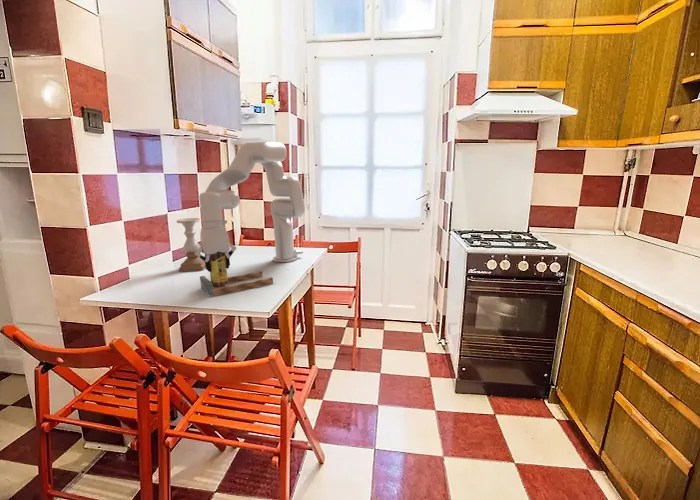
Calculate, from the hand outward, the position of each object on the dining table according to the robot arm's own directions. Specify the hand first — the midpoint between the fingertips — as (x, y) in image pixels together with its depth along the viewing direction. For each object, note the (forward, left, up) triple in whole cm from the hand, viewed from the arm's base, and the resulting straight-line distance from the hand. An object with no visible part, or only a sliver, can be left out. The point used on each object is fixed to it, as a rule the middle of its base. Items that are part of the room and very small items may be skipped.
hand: (218, 269), depth 145 cm
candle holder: (+1, -41, -9) cm, 42 cm away
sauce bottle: (0, 0, -7) cm, 7 cm away
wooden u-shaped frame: (-8, 0, -8) cm, 11 cm away
